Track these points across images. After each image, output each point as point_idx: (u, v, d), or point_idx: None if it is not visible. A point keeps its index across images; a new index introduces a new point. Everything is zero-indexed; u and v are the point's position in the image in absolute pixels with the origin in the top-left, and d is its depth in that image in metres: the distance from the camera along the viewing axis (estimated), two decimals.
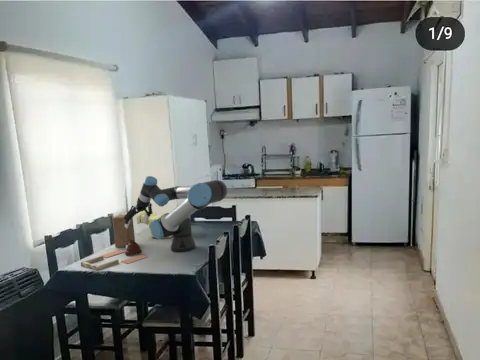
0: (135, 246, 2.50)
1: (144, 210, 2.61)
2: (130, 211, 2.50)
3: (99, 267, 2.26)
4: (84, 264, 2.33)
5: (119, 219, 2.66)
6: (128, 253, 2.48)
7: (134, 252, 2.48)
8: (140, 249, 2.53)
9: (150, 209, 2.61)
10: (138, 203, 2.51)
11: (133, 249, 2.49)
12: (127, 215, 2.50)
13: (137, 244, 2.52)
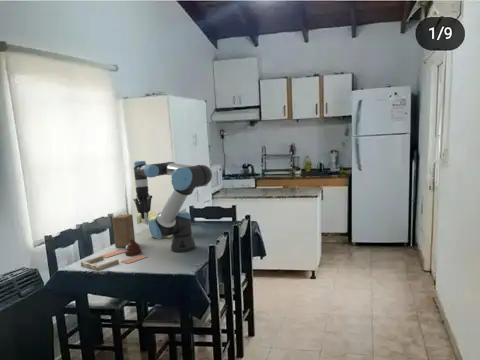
0: (135, 246, 2.50)
1: None
2: (136, 204, 2.53)
3: (99, 267, 2.26)
4: (84, 264, 2.33)
5: (119, 219, 2.66)
6: (128, 253, 2.48)
7: (134, 252, 2.48)
8: (140, 249, 2.53)
9: (149, 202, 2.60)
10: (137, 191, 2.53)
11: (133, 249, 2.49)
12: (138, 208, 2.54)
13: (137, 244, 2.52)
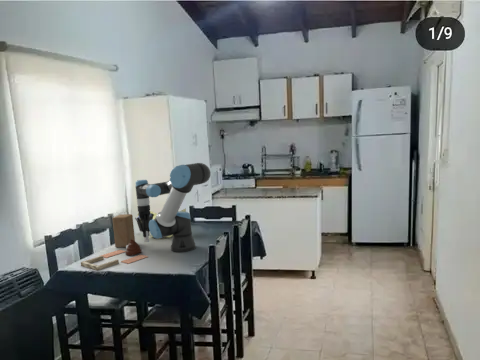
0: (135, 246, 2.50)
1: None
2: (138, 222, 2.55)
3: (99, 267, 2.26)
4: (84, 264, 2.33)
5: (119, 219, 2.66)
6: (128, 253, 2.48)
7: (134, 252, 2.48)
8: (140, 249, 2.53)
9: None
10: (139, 210, 2.55)
11: (133, 249, 2.49)
12: (139, 227, 2.56)
13: (137, 244, 2.52)
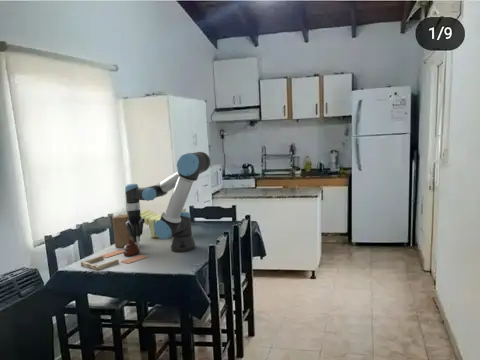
0: (133, 246, 2.49)
1: None
2: (128, 228, 2.50)
3: (99, 267, 2.26)
4: (84, 264, 2.33)
5: (119, 219, 2.66)
6: (126, 253, 2.47)
7: (132, 252, 2.47)
8: None
9: (141, 225, 2.56)
10: (129, 214, 2.50)
11: (131, 249, 2.47)
12: (130, 232, 2.51)
13: (135, 244, 2.51)
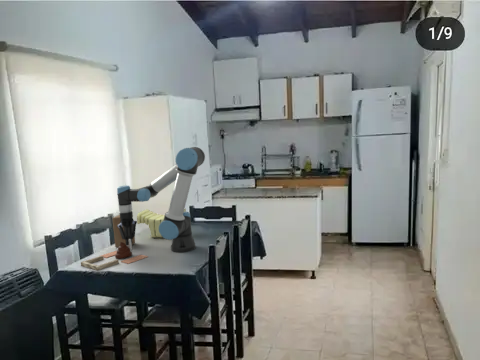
0: (125, 249, 2.44)
1: None
2: (120, 230, 2.45)
3: (99, 267, 2.26)
4: (84, 264, 2.33)
5: (119, 219, 2.66)
6: (117, 256, 2.43)
7: (123, 255, 2.43)
8: (130, 252, 2.47)
9: (134, 228, 2.51)
10: (121, 217, 2.45)
11: (122, 252, 2.43)
12: (122, 235, 2.46)
13: (127, 247, 2.46)
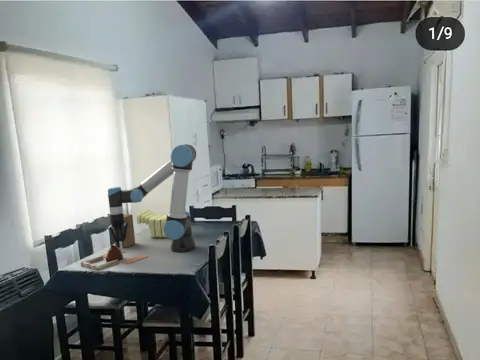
0: (115, 252, 2.39)
1: None
2: (111, 232, 2.40)
3: (99, 267, 2.26)
4: (84, 264, 2.33)
5: None
6: (107, 259, 2.38)
7: (113, 258, 2.38)
8: (121, 255, 2.42)
9: (125, 230, 2.46)
10: (111, 219, 2.40)
11: (113, 255, 2.38)
12: (112, 237, 2.41)
13: (118, 250, 2.41)
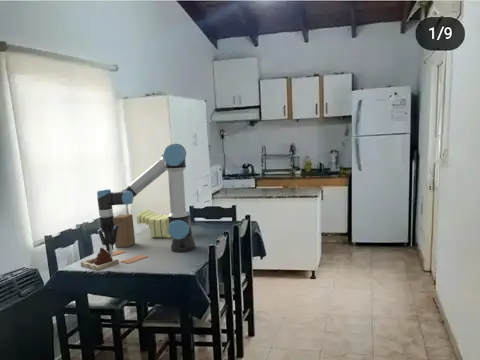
0: (104, 256, 2.34)
1: None
2: (100, 235, 2.35)
3: (99, 267, 2.26)
4: (84, 264, 2.33)
5: (119, 219, 2.66)
6: (96, 262, 2.33)
7: (102, 262, 2.33)
8: (110, 259, 2.36)
9: (115, 233, 2.41)
10: (101, 221, 2.35)
11: (101, 259, 2.33)
12: (102, 240, 2.36)
13: (107, 253, 2.36)
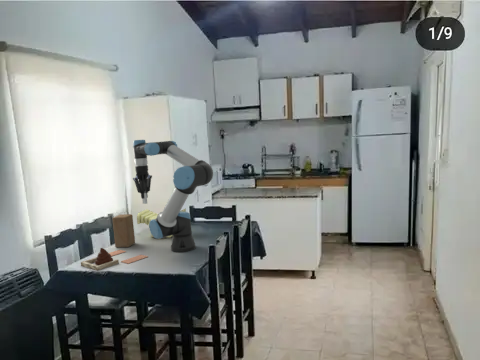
0: (104, 256, 2.34)
1: None
2: (136, 183, 2.49)
3: (99, 267, 2.26)
4: (84, 264, 2.33)
5: (119, 219, 2.66)
6: (96, 263, 2.33)
7: (102, 262, 2.33)
8: (111, 259, 2.36)
9: (149, 182, 2.55)
10: (137, 170, 2.49)
11: (102, 259, 2.33)
12: (137, 188, 2.50)
13: (107, 253, 2.36)
